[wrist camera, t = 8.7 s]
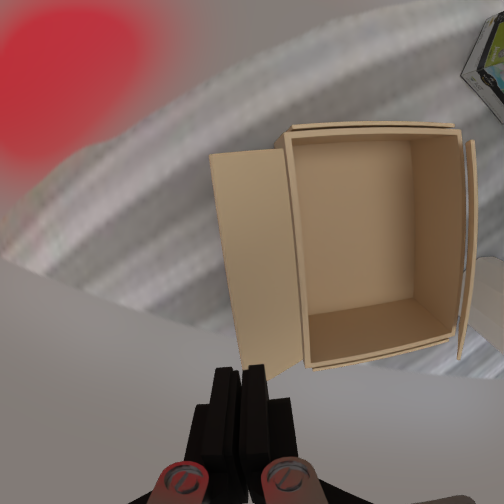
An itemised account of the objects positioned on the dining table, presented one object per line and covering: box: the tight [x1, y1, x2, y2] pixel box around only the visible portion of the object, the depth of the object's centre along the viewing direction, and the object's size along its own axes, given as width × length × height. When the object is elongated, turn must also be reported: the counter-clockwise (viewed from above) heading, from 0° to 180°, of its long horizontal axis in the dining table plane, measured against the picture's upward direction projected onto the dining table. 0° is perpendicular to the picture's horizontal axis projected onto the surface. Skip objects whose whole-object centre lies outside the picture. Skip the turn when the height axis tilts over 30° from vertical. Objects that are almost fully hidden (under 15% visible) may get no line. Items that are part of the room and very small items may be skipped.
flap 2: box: [457, 140, 478, 360], centre depth 21 cm, size 6×18×1 cm
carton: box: [274, 121, 466, 371], centre depth 29 cm, size 16×21×10 cm
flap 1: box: [209, 148, 303, 381], centre depth 23 cm, size 6×18×1 cm
